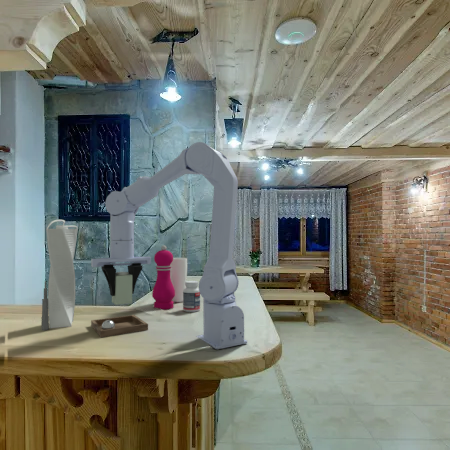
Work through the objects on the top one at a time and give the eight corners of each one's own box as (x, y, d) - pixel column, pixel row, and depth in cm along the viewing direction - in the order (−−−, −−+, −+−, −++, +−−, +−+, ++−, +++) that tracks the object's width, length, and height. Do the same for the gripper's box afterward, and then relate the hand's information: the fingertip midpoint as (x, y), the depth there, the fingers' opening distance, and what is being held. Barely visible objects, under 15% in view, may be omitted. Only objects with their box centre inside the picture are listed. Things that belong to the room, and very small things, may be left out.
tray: (148, 332, 84) (148, 324, 84) (100, 339, 78) (101, 331, 78) (134, 322, 93) (134, 314, 93) (91, 328, 88) (91, 320, 88)
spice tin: (132, 303, 87) (132, 272, 87) (116, 304, 85) (116, 273, 85) (127, 300, 90) (127, 271, 90) (111, 302, 88) (111, 272, 88)
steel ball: (116, 333, 81) (116, 320, 81) (103, 335, 79) (103, 322, 80) (113, 330, 84) (113, 318, 84) (100, 332, 82) (100, 319, 82)
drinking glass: (191, 300, 122) (191, 258, 123) (178, 304, 117) (178, 259, 117) (176, 298, 126) (176, 257, 126) (163, 301, 120) (163, 258, 121)
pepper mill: (164, 311, 106) (164, 245, 107) (147, 308, 110) (147, 245, 110) (179, 306, 112) (179, 245, 113) (162, 304, 116) (162, 244, 116)
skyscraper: (43, 326, 91) (44, 219, 92) (77, 322, 94) (77, 219, 95) (40, 334, 83) (41, 218, 84) (77, 330, 87) (78, 218, 87)
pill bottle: (197, 312, 104) (197, 283, 105) (180, 311, 105) (180, 282, 106) (202, 308, 110) (202, 280, 110) (186, 308, 111) (186, 280, 111)
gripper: (144, 239, 95) (144, 289, 95) (88, 240, 87) (88, 294, 87) (154, 240, 89) (153, 293, 89) (94, 241, 81) (94, 299, 81)
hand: (122, 294), depth 87 cm, fingers closed on spice tin, 4 cm apart
